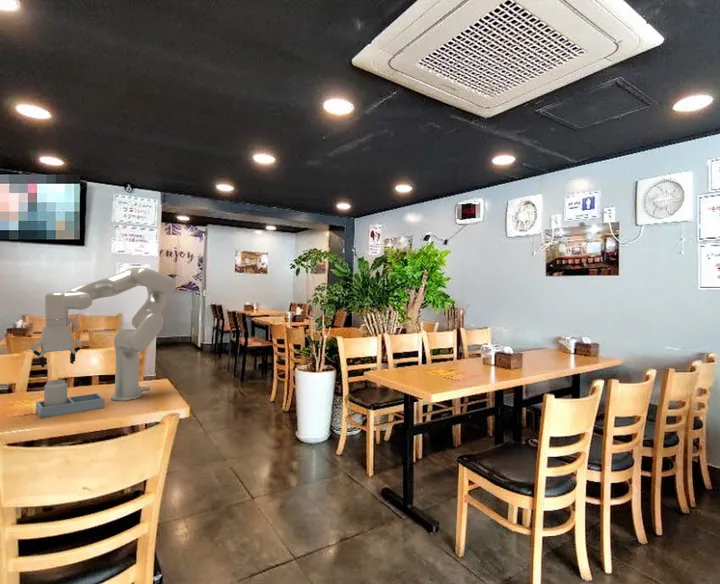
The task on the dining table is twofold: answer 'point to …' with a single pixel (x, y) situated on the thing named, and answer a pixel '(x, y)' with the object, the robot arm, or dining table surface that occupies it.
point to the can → (55, 393)
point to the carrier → (71, 405)
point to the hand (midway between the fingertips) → (57, 365)
